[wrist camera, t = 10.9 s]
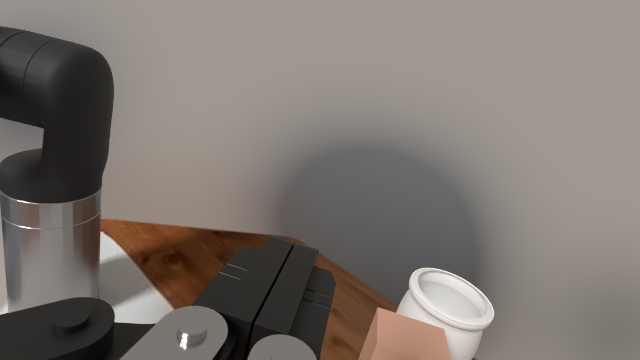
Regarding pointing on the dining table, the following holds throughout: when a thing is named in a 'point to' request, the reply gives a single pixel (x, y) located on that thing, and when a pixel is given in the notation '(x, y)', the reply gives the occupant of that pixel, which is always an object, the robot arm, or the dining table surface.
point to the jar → (448, 309)
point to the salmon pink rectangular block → (403, 339)
